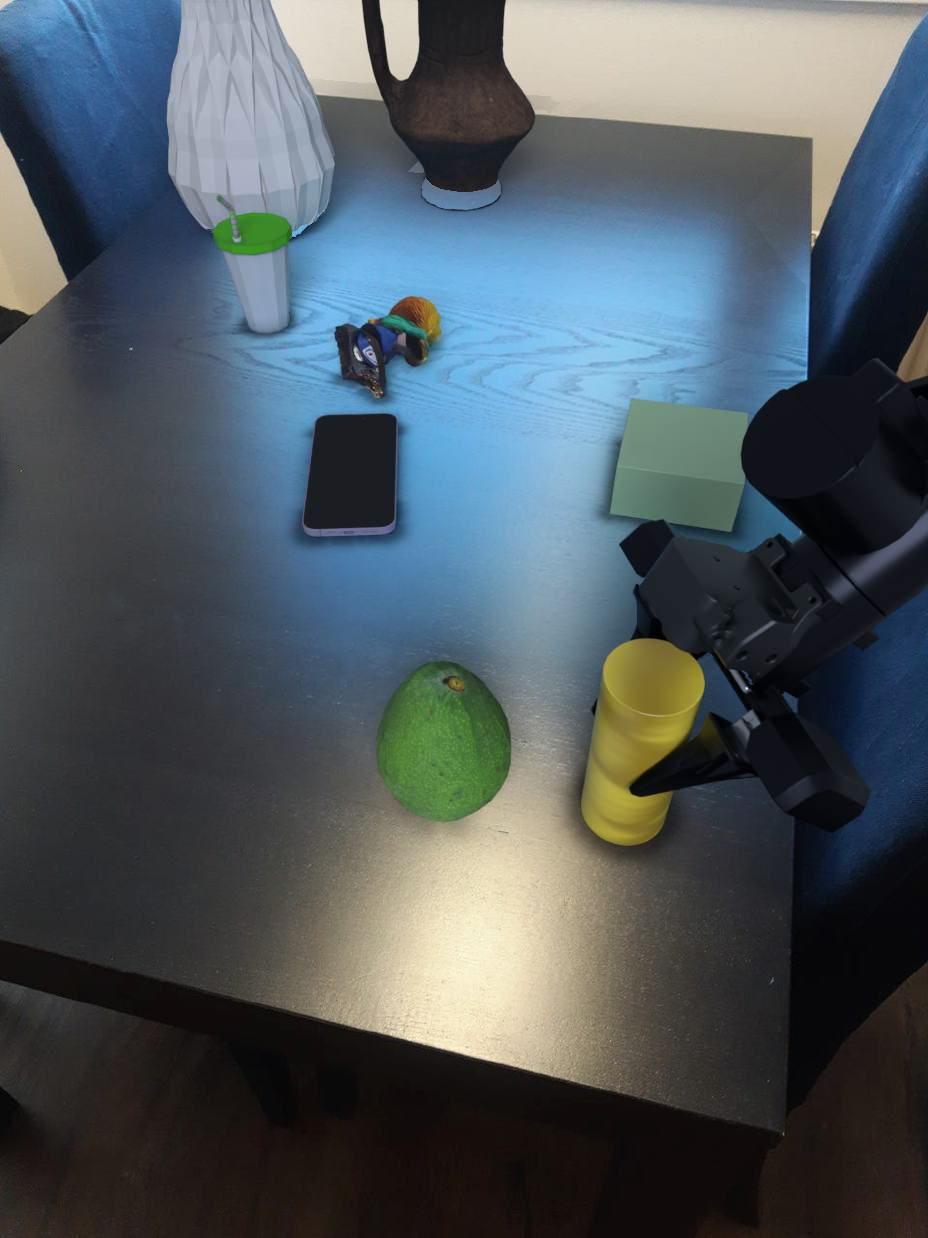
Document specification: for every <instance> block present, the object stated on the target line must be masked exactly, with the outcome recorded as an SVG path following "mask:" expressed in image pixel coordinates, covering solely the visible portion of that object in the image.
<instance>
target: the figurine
mask: <svg viewBox="0 0 928 1238" xmlns="http://www.w3.org/2000/svg"><path fill="white" fill-rule="evenodd" d="M441 322H442V318H441V314H440V313H439V311H438V310H437V307H436V305H435V304H434V303H433V301H431V300H429V299H427V298H425V297H423V296H414V295H412V296H411V295H409V296H406V297H404V298H402V299H400V300H399V301H397V302H396V303H395V304H394V306H392V307H391V309H390V310H389V313H388V314H387V315H386V316H382V317H377V318H374V317H373V318H372V317H371V318H368V320H367V322H365V323H364V324H362V325H361V326H360V327H357V326H356V325H353V324H351V323H344V324H341V325H337V326H335V327H334V329H335V331H334V333H333V334H334V341H335V342H336V347H337V355H338V356H339V364H340V372H341V375H342V376H343V377H342V381H344V380H348V381H349V380H350V381H355V382H357V383H358V384H359V385H360V386H362V387H364V388H365V389H367V390H369V391H370V392H372V394H373V396H374V397H375V398H377V399H381V398H384V397H385V396H386V392H385V387H386V385H387V374H386V373H387V372H386V366H388V365H390V364H391V362H392V360H394V358H395V357H396V356H397V357H398V356H399V357H400V356H403V358H404V361H405V362H406V364H407V365H409V366H410V367H413V368H414V367H419V366H421V365H424V364H425V363H426V362H427V361H428V359H429V350H430V349H429V347H431V346H433V344H437V343H438V342H439V341H440V340H441V339H442V337H443V332H442V328H441Z"/></svg>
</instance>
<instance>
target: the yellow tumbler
mask: <svg viewBox="0 0 928 1238" xmlns="http://www.w3.org/2000/svg"><path fill="white" fill-rule="evenodd" d="M705 687H706V680H705V675H704V672H703V669H702V667H701V665H700V663H699V662H698V660H697V661H696V660H695V658H694V657H693V656H692V655H691V654H689V653H687V652H684V651H682V650H680V649H678V648H676V647H675V646H674V645H672V644H671V643H670V642H667V641H664V640H659V639H651V638H643V639H635V640H631V641H630V640H628V641H625V642H622V643H621V644H618V646H616V647H615V648H614V649H612V651H610V653H609V654H608V655H607V656H606V659H605V660H604V663H603V667H602V672H601V678H600V685H599V689H598V696H597V698H598V701H597V708H596V714H595V716H594V721H593V726H592V732H591V738H590V745H589V751H588V755H587V756H588V757H587V762H586V769H585V775H584V780H583V787H582V793H581V799H580V810H581V814H582V817H583V819H584V822H585V823H586V824H587V826H588V827H589V829H590V830H591V831H592V832H593V833H594V834H595V835H597V836H598V838H599V837H600V839H602V840H604V841H606V842H609V843H611V844H614V845H619V846H626V847H627V846H628V847H629V846H637V845H641V844H644V843H647V842H648V841H650V840H652V839H653V838H655V836H656V835H658V834H659V832H660V831H661V830H662V828H663V826H664V824H665V821H666V818H667V814H668V811H669V808H670V804H671V801H672V798H673V794H674V791H669V792H665V793H660V794H655V795H651V796H646V797H637V796H634V795H632V794H631V793H630V791H629V787H630V786H631V785H632V784H633V783H634V782H635V781H636V780H637V779H638V778H639V777H640V776H641V775H642V774H644V773H645V772H646V771H647V770H649V769H650V768H652V767H653V766H654V765H656V764H657V763H659V762H660V761H662V760H663V759H665V758H666V757H667V756H669V755H670V754H672V753H673V752H675V751H676V750H677V749H679V748H680V747H682V746H683V745H685V744H686V743H688V742H689V741H690V738H691V736H692V731H693V729H694V725H695V722H696V719H697V715H698V712H699V709H700V706H701V702H702V699H703V696H704V693H705Z"/></svg>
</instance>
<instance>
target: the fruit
mask: <svg viewBox="0 0 928 1238" xmlns="http://www.w3.org/2000/svg"><path fill="white" fill-rule="evenodd" d="M375 738H376V739H375V745H376V746H375V749H376V750H375V754H376V761H377V762H376V763H377V767H378V773H379V775H380V777H381V778H382V781H383V782H384V785H385V786H386V788H387V789H388V791H389V793H390V794H391V796H392V797H393V799H394V800H395V801H396V802H398V804H399V805H400V806H401V807H403V808H404V809H405V810H406V811H408V812H410V813H412V814H414V815H416V816H418V817H420V818H422V819H424V820H427V821H433V822H440V823H449V822H455V821H459V820H462V819H464V818H466V817H468V816H470V815H472V814H475V813H476V812H479V811H481V810H482V808H484V807H485V806H487V805H488V804H489V803H491V802H492V801H493V800H494V798H495V797H496V795H497V794H498V793H499V792H500V790H501V789H502V788H503V785H504V783H506V780H507V778H508V776H509V771H510V769H511V765H512V734H511V729H510V725H509V720H508V717H507V715H506V713H505V711H504V709H503V707H502V705H501V703H500V701H499V700H498V699H497V697H495V695H494V694H493V693H492V691H491V690H490V689H489V687H488V686H487V685H486V684H485V682H484V681H483V680H482V679H481V678H480V677H478V676H477V675H476V674H475V673H474V672H472V671H470V670H469V669H467V668H465V667H464V666H462V665H461V664H459V663H456V662H454V661H448V660H437V661H430V662H424V663H423V664H421V665H420V666H418V667H416V668H415V669H414V670H412V671H411V672H410V673H409V674H408V675H407V677H405V679H404V680H403V681H402V682H401V683H400V685H399V686H398V687H397V689H395V691H394V692H393V694H392V695H391V697H390V698H389V699H388V702H387V704H386V706H385V707H384V710H383V713H382V716H381V718H380V721H379V724H378V728H377V733H376V737H375Z"/></svg>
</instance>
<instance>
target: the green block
mask: <svg viewBox="0 0 928 1238" xmlns="http://www.w3.org/2000/svg"><path fill="white" fill-rule="evenodd" d="M748 426H749V413H748V412H743V411H737V410H736V411H735V410H727V409H719V408H712V407H705V406H697V405H689V404H680V403H673V402H665V401H657V400H651V399H643V398H642V399H641V398H634V397H631V398H630V402H629V406H628V409H627V417H626V420H625V425H624V430H623V435H622V440H621V444H620V449H619V453H618V458H617V463H616V469H615V475H614V483H613V488H612V496H611V503H610V509H609V514H610V515H616V516H622V517H627V518H628V517H629V518H636V519H642V520H648V521H656V520H661V519H664V520H665V521H667V522H668V523H669V524H674V525H682V526H689V527H695V528H701V529H708V530H715V531H722V532H727V533H731V532H732V531H733V527H734V524H735V520H736V517H737V513H738V510H739V507H740V503H741V499H742V495H743V493H744V489H745V485H746V476H745V474H744V471H743V469H742V464H741V448H742V442H743V438H744V436H745V433H746V431H747V428H748Z"/></svg>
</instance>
